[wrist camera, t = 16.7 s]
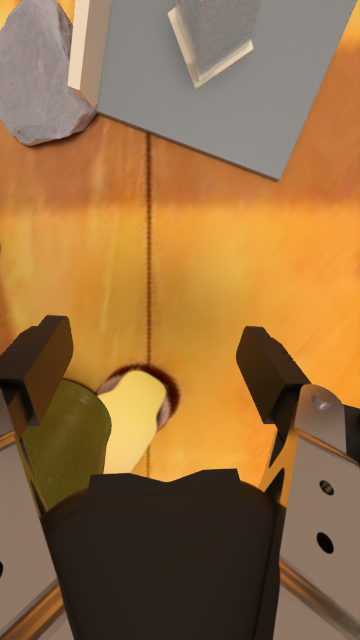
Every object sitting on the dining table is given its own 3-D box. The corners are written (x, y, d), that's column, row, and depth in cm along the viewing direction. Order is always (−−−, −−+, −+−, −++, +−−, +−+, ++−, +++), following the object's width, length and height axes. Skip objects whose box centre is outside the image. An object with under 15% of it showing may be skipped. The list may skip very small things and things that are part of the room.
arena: (89, 111, 26) (67, 85, 22) (122, -139, 20) (99, -253, 15) (277, 181, 28) (293, 171, 23) (367, -30, 21) (415, -103, 16)
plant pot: (153, 460, 48) (102, 741, 22) (30, 468, 52) (-141, 716, 26) (114, 339, 38) (-78, 598, 11) (-36, 360, 41) (-449, 591, 15)
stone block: (115, 121, 28) (67, 1, 23) (97, 113, 24) (35, -33, 19) (44, 162, 31) (-9, 67, 27) (19, 161, 28) (-48, 49, 23)
